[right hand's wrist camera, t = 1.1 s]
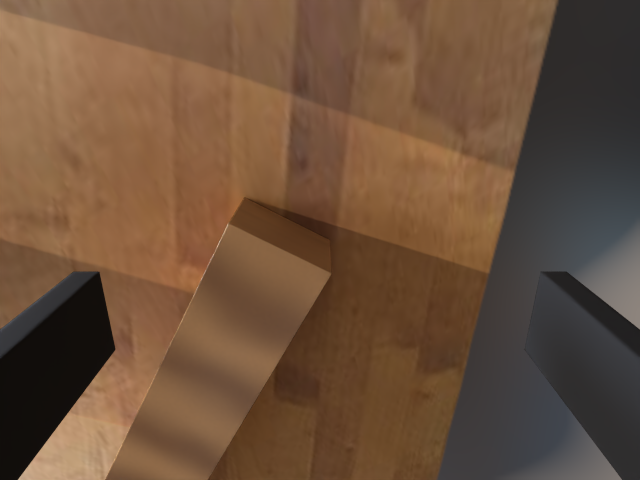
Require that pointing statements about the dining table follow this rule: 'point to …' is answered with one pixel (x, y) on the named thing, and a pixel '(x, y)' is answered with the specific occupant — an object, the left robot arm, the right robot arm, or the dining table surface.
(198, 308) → the thick board
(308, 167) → the dining table surface
